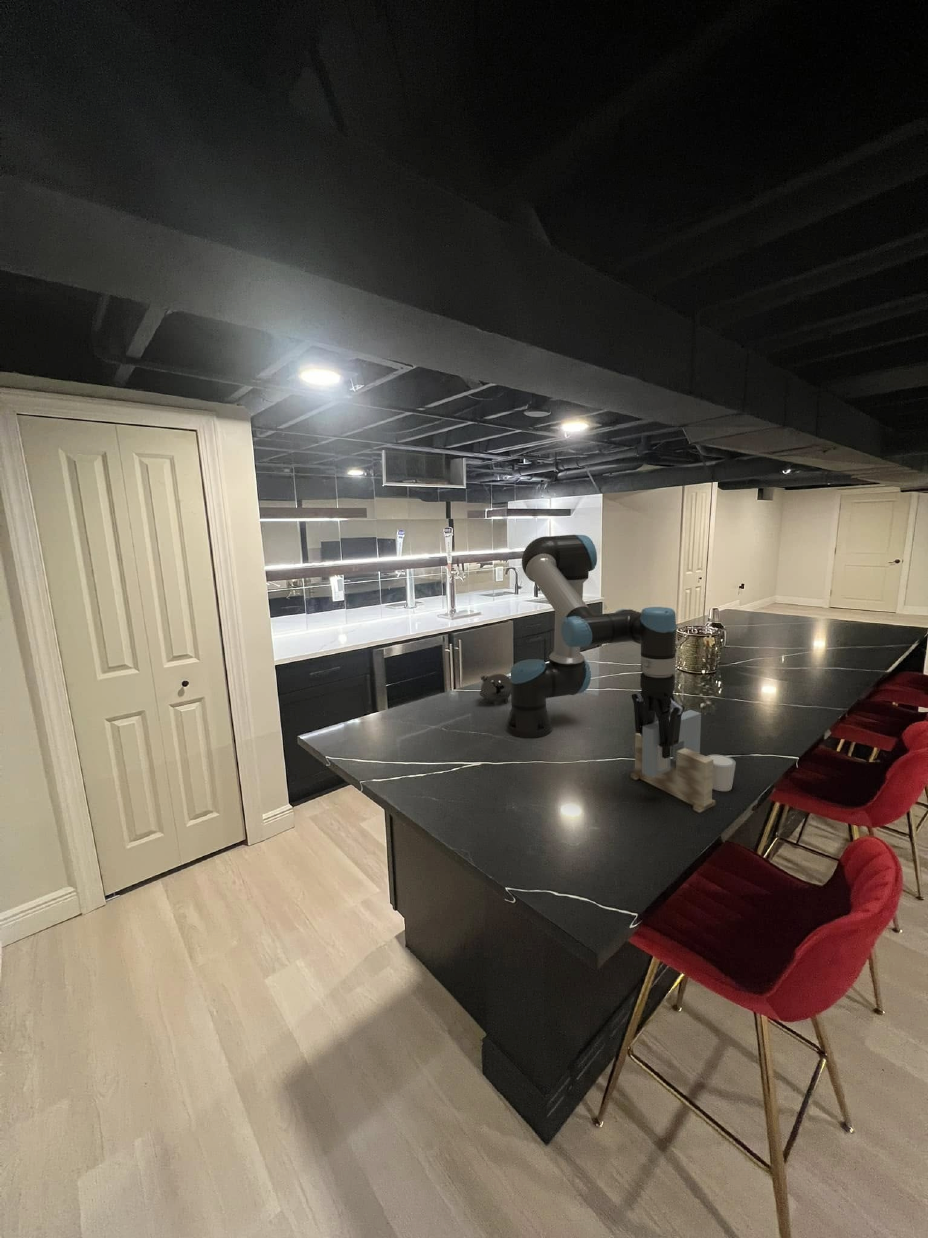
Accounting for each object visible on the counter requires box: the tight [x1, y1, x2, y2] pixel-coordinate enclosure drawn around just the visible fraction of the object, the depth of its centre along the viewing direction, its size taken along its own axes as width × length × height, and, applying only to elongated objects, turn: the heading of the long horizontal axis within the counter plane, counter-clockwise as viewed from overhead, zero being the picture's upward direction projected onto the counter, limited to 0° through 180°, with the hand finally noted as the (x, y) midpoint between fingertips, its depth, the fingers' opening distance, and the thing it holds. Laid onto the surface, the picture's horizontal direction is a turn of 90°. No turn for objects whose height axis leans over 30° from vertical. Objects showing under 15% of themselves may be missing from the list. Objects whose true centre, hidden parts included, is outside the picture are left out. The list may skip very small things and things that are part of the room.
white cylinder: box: [706, 753, 737, 792], centre depth 122 cm, size 7×7×7 cm
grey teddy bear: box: [479, 673, 511, 706], centre depth 189 cm, size 11×15×12 cm
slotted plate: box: [642, 709, 702, 778], centre depth 119 cm, size 18×3×12 cm, turn 120°
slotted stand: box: [630, 733, 716, 814], centre depth 120 cm, size 20×6×12 cm, turn 30°
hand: (655, 766), depth 117 cm, fingers closed on slotted plate, 3 cm apart
